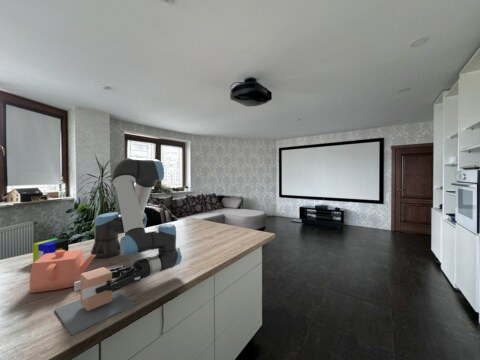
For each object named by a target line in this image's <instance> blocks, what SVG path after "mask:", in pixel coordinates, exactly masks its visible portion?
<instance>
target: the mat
mask: <svg viewBox="0 0 480 360" xmlns="http://www.w3.org/2000/svg"><path fill="white" fill-rule="evenodd" d="M134 306H136V302H134V301H133V300H132V299H130V298H129V297H127V295H125V294H124V293H122V292H121V291H119V290H117V291H114V292H112V301H111V302H108V303H106V304H104V305H101V306H99V307H96V308H94V309H92V310H89V311H87V310H86V309H85V308H84V307H83V305H82V304H81V303H80V299H77V300H75V301H72V302H70V303H66V304H64V305H60V306H59V307H56V308H54V312H55V313H56V315H57V316H58V318H59V319H60V321H61V322H62V324H63V325H64V326H65V328H66V330H67V331H68V332H70V333H69V334H70V335H72V336H74V335H76V334H78V333H80V332H82V331H84V330H86V328H87V329H89V328H91V327H93V326H95V325H97V324H99V323H101V322H103V321H105V320H107V319H109V317H110V318H111V316H112V317H114V316H115V314H116V315H118V314H120V313H123V312H124V311H126V310H129V309H130V308H133V307H134ZM119 312H120V313H119ZM117 313H118V314H117ZM113 315H114V316H113ZM102 320H103V321H102ZM100 321H101V322H100ZM98 322H99V323H98ZM96 323H97V324H96ZM94 324H95V325H94ZM92 325H93V326H92ZM90 326H91V327H90ZM88 327H89V328H88ZM79 331H80V332H79ZM77 332H78V333H77ZM75 333H76V334H75ZM73 334H74V335H73Z"/></svg>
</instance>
